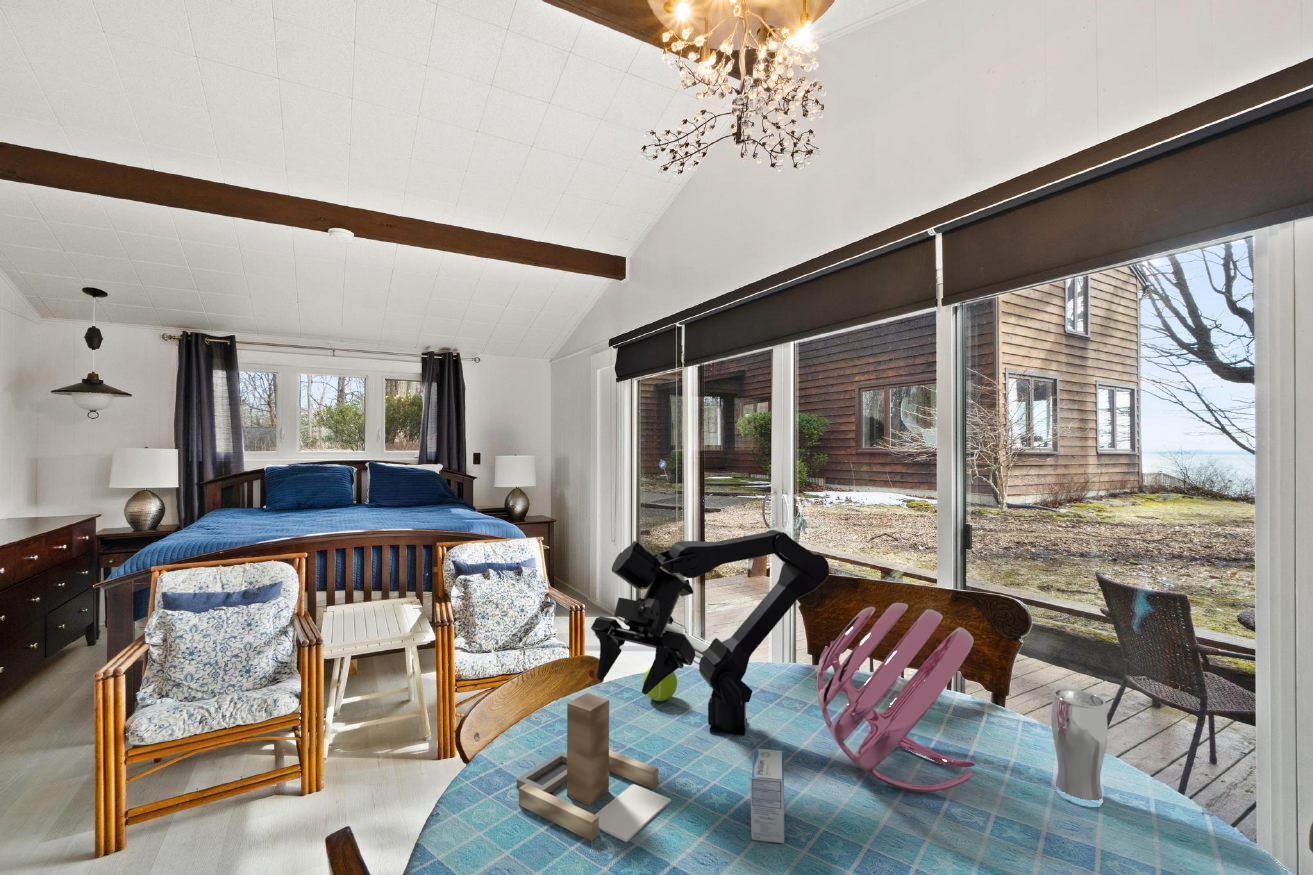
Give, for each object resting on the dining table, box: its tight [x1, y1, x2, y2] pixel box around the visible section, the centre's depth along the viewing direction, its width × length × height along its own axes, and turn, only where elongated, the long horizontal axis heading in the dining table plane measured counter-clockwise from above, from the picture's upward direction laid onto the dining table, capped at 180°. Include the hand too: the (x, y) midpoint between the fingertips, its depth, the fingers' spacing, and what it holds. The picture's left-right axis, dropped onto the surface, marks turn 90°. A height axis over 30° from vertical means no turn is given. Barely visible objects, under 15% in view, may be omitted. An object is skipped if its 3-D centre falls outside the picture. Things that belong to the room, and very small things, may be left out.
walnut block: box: [566, 692, 610, 807], centre depth 91 cm, size 4×4×14 cm
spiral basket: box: [816, 602, 976, 793], centre depth 98 cm, size 28×28×27 cm
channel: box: [518, 749, 659, 842], centre depth 91 cm, size 14×16×2 cm
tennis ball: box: [642, 667, 678, 702], centre depth 124 cm, size 7×7×7 cm
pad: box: [594, 783, 672, 843], centre depth 86 cm, size 7×11×1 cm, turn 146°
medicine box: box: [750, 748, 785, 844], centre depth 84 cm, size 8×4×9 cm, turn 168°
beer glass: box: [1051, 687, 1109, 800], centre depth 91 cm, size 7×7×15 cm
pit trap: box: [516, 751, 567, 794], centre depth 95 cm, size 6×10×1 cm, turn 146°
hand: (620, 686), depth 98 cm, fingers open, 9 cm apart
